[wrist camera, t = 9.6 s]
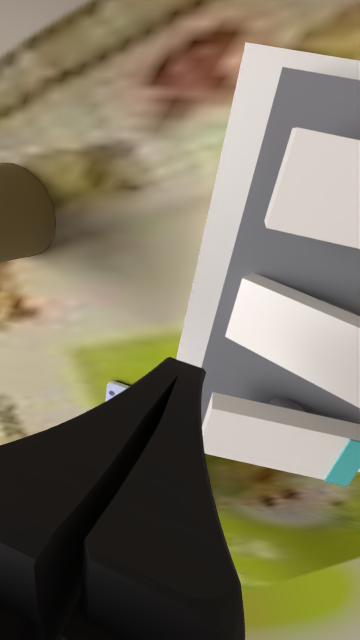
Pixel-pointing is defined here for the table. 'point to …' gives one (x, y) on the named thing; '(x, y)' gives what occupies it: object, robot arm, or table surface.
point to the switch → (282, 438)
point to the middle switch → (299, 334)
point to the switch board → (241, 178)
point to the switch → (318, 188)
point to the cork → (23, 214)
